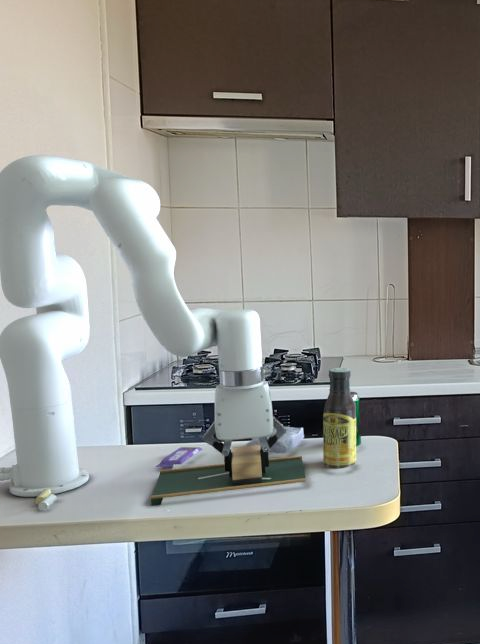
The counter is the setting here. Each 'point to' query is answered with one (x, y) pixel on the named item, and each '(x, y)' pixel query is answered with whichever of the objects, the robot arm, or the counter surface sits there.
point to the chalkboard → (222, 478)
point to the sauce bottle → (339, 422)
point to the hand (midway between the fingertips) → (247, 471)
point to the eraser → (246, 465)
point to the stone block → (283, 440)
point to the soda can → (357, 417)
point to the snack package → (178, 456)
